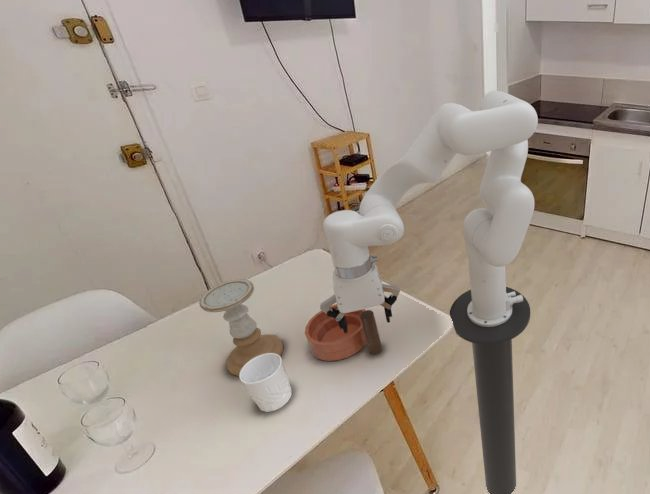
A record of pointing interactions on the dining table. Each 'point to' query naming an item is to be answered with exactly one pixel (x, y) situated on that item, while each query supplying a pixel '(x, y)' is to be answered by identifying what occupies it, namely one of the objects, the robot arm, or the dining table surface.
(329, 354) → the bowl
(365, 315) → the dark brown cylinder
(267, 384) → the white cup
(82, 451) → the dining table surface
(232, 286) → the candle holder
